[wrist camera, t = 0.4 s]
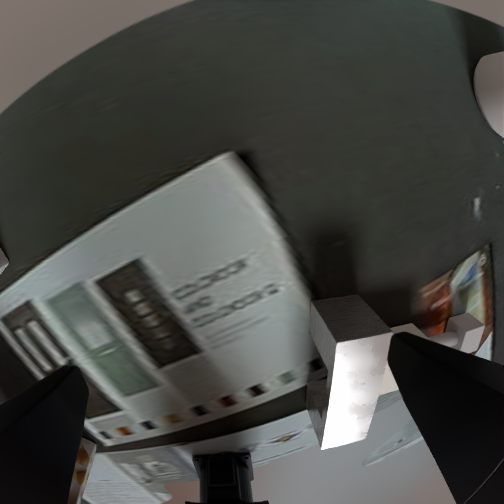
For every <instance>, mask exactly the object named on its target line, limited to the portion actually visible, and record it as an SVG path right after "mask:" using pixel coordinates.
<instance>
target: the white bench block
mask: <svg viewBox="0 0 504 504" xmlns="http://www.w3.org/2000/svg"><path fill="white" fill-rule="evenodd" d="M310 335H311V337H312V339H313V341H314V343H315V345H316V347H317V349H318V351H319V353H320V355H321V357H322V359H323V361H324V363H325V365H326V367H327V369H328V376H327V378H326V379H320V380H314V381H308V382H307V389H306V402H305V404H306V407H307V410H308V413H309V416H310V419H311V421H312V424H313V427H314V430H315V433H316V436H317V439H318V442H319V445H320V447H321V450H323V449H327V448H332V447H336V446H340V445H344V444H348V443H352V442H356V441H359V440H363V439H365V438H366V435H367V432H368V429H369V426H370V423H371V419H372V416H373V413H374V410H375V406H376V403H377V399H378V396H379V392H380V388H381V384H382V380H383V376H384V372H385V368H386V364H387V355H388V350H389V345H390V339H391V336H392V335H393V331H392V330H391V329H390V328H389V327H388V326H387V325H386V324H385V323H384V322H383V320H382V319H381V318H380V317H379V316H378V315H377V314H376V313H375V312H374V311H373V310H372V309H371V308H370V307H369V306H368V304H367V303H366V302H365V301H364V300H363V299H362V298H361V297H360V296H359V295H358V294H357V295H350V296H342V297H335V298H327V299H319V300H311V310H310Z"/></svg>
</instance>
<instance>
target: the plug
mask: <svg viewBox="0 0 504 504" xmlns="http://www.w3.org/2000/svg"><path fill="white" fill-rule="evenodd" d="M484 327H485V325H484V324H483V323H481V322H480V321H479V320H477V319H476V318H475V317H473V316H472V315H471V314H469V313H464V314H461V315H457V316H454V317H450V318H449V319H448V323H447V327H446V331H445V332H444V333H441V334H438V335H434V336H431V337H426V336H425V335H424V334H423V333H422V332H421V331H420V330H419V329H418V328H417V327H416V326H415V325H413V324H412V323H410V324H406V325H401V326H397V327H392V328H390V329H391V330H392V331H393V334H395V333H399V332H403V331H406V332H409V333H411V334H414V335H417V336H420V337H423V338H426V339H428V340H431V341H434V342H437V343H440V344H443V345H446V346H448V347H451V348H454V349H457V350H460V351H463V352H466V353H471V352H473V351H476V350H477V348H478V345H479V342H480V339H481V336H482V333H483V330H484ZM395 390H399V389H398V386H397V384H396V382H395V379H394V377H393V375H392V372H391V370H390V368H389V365H388V362H387V364H386V368H385V372H384V376H383V380H382V384H381V388H380V392H379V395H381V394H385V393H389V392H392V391H395Z"/></svg>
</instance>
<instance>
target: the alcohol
mask: <svg viewBox="0 0 504 504" xmlns="http://www.w3.org/2000/svg"><path fill="white" fill-rule="evenodd" d="M473 82H474V91H475V96H476V100H477V103H478V106H479V109H480V111H481V113H482V115H483V117H484V119H485V120H486V122H487V123H488V124H489V126H490V127H491V128H492V129H493V130H494V131H496V132H497V133H498V134H499V135H500V136H502V137H503V138H504V51H503V52H498V53H494V54H490V55H486V56H483V57H482V58H481V59H480V61H479V62H478V64H477V66H476V68H475V72H474V79H473Z"/></svg>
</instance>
